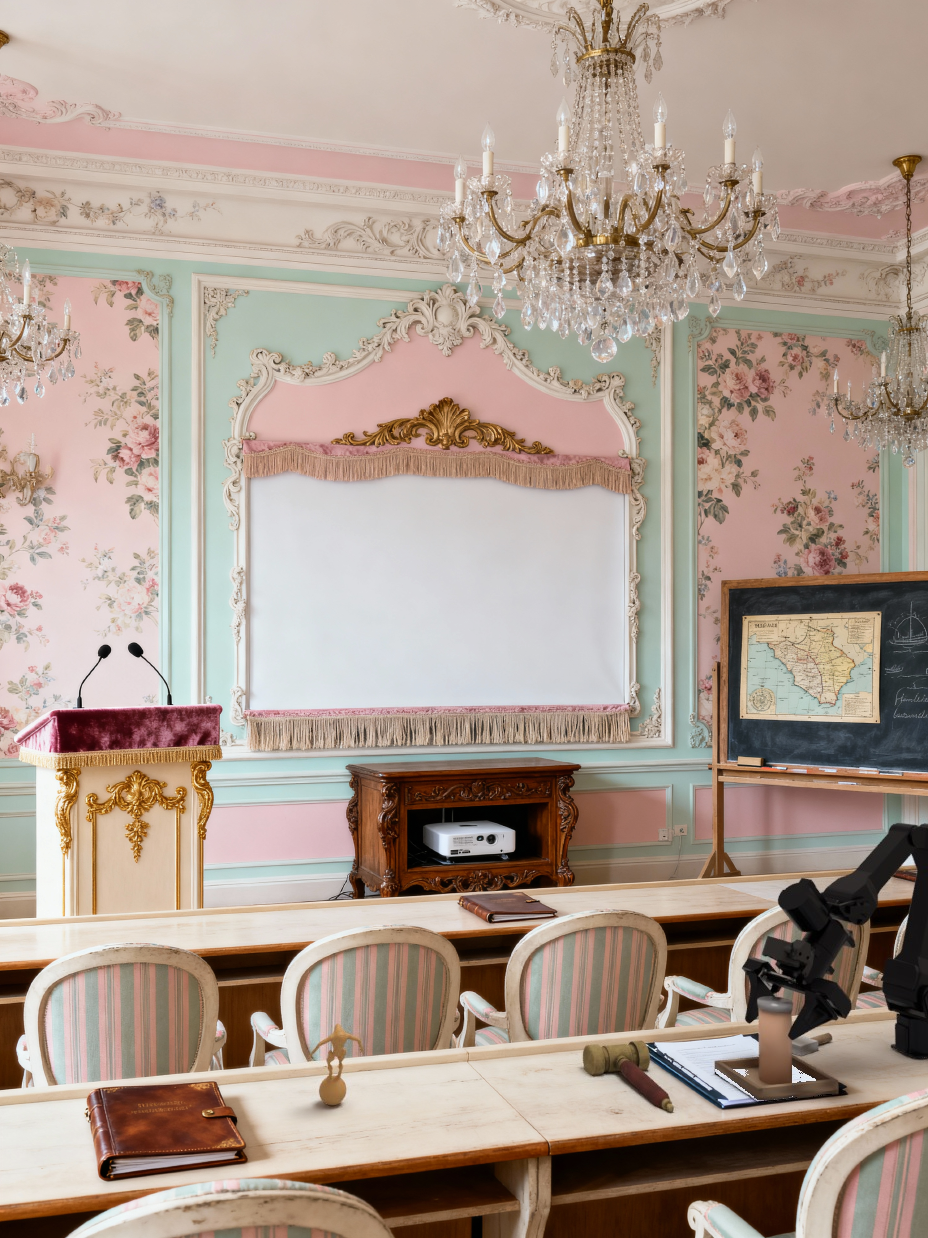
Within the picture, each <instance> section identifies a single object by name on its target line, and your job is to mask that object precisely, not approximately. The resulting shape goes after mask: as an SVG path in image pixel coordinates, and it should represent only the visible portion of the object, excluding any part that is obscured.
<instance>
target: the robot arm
mask: <svg viewBox="0 0 928 1238" xmlns="http://www.w3.org/2000/svg"><path fill="white" fill-rule="evenodd" d="M909 857H912V860H913V862H914V865H915V868H916V875H915V880H914V884H913V885H914V886H913V890H912V895H911V900H910V905H909V910H908V915H907V920H906V925H905V930H904V934H903V940H902V945H901V950H900V952H898V954H897V955H896V956H895V957H894V958H891V957H887V958H886V960H885V961H884V970H883V974H882V976H881V978H880V981H882V986H881V990H882V993H883V995H884V999H885V1003H886V1006H887V1010H888V1012H889V1011H890V1012H894V1013H896V1017H895V1018H896V1023H895V1024H894V1043H891V1044H890V1048H892V1049H893V1050H896V1051H898V1052H900V1053H901V1054H904V1055H906V1056H909V1057H911V1058H912V1059H916V1060H921V1059H928V823H927V822H926V823H921V824H920V825H918V824H913V823H912V824H911V823H904V822H895V823H893V824H892V825H890V827H889V829H888V833H887V834H886V835H885V836H884V837H883V839H882V840H881V841H879V843H878V844H877V845H876V846H875V848H874V849H873V850H872V851H871V852H870V853H869V854H868V855H867V856H866V858H865V859H864V860H863V861H862V862H861V863H860V864H859V865H858V867H857V868H856V869H855V870H854V871H852V872H851V873H849V874H847V875H844V876H840V877H838V878H836V880H834V881H833V882H831V884H829V885H828V886H827V887H826V888H825V889H824V890H823V891H822V892H820V890H819V889H818V887H817V886H816V884H815V882H814V881H813V879H809V878H805V877H801V878H800V880H799V881H798V882H795V883H792V884H790V885H788V886H787V887H785V888H784V889H782V890H781V891H780V892H779V895H778V897H777V904H778V906H779V908H781V910H782V911H783V913H784V914H786V916H787V917H788V919H789V920H790V921H791V923H792V924H793V925H794V926H795V928H796V929H797V930H798V931H800V932H802V933H805V934H804V936H803V937H802V938H801V939H795V940H794V941H792V942H790V941H787V940H785V939H781V938H778V937H773V936H769V935H767V936H766V939H765V942H764V946H763V948H762V952H761V956H763V957H766V958H767V957H768V958H770V959H771V960H774V961H776V962H775V963H774V965H775V966H776V968H777V969H779V970H780V971H782V972H781V973H780V972H778V971H777V970H775V968H774V967H773V966H772V964H771V963H770V962H769V961H766V960H763V959H760V958H757V957H748V958H747V959H746V960H745V962H744V963H743V965H742V967H741V969H742V971H744V973H745V977H746V978H747V979H748V981H749V984H750V987H749V988H750V990H749V997H748V1001H747V1006H746V1011H745V1014H744V1015H745V1016H744V1020H745V1022H746V1023H748V1024H749V1025H750V1024H751V1023H753V1022H754V1021H755V1020H756V1019H758V1018H759V1008H758V1007H757V999H758V998H760V997H764V996H775V997H776V994H777V993H779V992H780V991H781V989H782V988H783V989H786V990H789V991H792V992H795V993H798V994H802V995H804V1001H803V1002H804V1003H803V1006H802V1007H801V1009H800V1011H799V1013H798V1015H797V1017H796V1018H795V1020H794V1021H793V1022H792V1027H791V1029H790V1031H789V1033H788V1037H789V1038H790V1039H791V1040H794V1039H796V1038H798V1037H800V1036H804V1035H805V1034H806V1033H808V1032H811V1031H812V1030H815V1029H816V1028H818V1027H821V1026H822V1025H824V1024H827V1023H829V1022H831V1021H838V1019H839V1018H840V1019H844V1020H845V1019H847V1017H848V1016H849V1014H850V1013H851V1011H852V1006H853V1005H852V1000H851V999H850V997H849V996H848V995H847V994H846V992H845V991H844V990H843V988H842V987H841V986H840V984H838V982H836V981H832V980H829V979H826V978H824V977H826V975H829V976H833V974H834V972H835V968H833V966H832V964H833V963H834V962H835V960H836V958H837V957H838V955H839V953H840V952H841V951H842V949H843V947H848V948H852V949H855V947H856V940H855V939H854V936H853V935H854V934H853V933H854V931H853V930H851V929H847V928H845V926H844V924H842V923H847V924H851V925H855V926H864V925H865V924H867V923H868V921H869V920H870V919H871V917H872V915H873V914H874V912H875V910H876V909H877V907H878V905H879V893H880V892H881V890H882V889H883V888H884V886H886V885H887V883H888V882H889V881H890V880H891V878H893V876H894V875H895V874H896V873H897V871H899V869H900V868H901V867H902V865H904V863H905V862H906V861H907V860H908V859H909Z"/></svg>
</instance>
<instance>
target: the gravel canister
mask: <svg viewBox="0 0 928 1238" xmlns="http://www.w3.org/2000/svg"><path fill="white" fill-rule="evenodd" d="M757 1007H758V1008H759V1016H758V1057H759V1079H760V1080H761V1081H763V1082H765V1083H768V1084H772V1085H777V1084H787V1083H792V1055H793V1053H792V1040H791V1039H790V1038H789V1037H788V1033H789V1031H790V1029H791V1027H792V1025H793V1021H792V1020H793V1017H792V1016H793V1014H792V1013H793V1010H794V1002H793V1001H792V1000H790V999H788V998H786V997H781V996H776V995H775V996H764V997H760V998H758V999H757Z"/></svg>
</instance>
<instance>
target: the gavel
mask: <svg viewBox="0 0 928 1238" xmlns="http://www.w3.org/2000/svg"><path fill="white" fill-rule="evenodd" d="M582 1063H583V1068H584V1070H585V1072H586V1073H588V1074H589V1075H591V1076H598V1075H599V1076H600V1075H603V1074H604V1072H605V1073H613V1072H621V1074H622V1076H623V1077H624V1078H625V1079H626V1080H627V1081H628V1082H630V1083H631V1085H632V1086H634V1088H636V1089H637V1090H638V1091H639V1092H640V1093H641V1094H642V1095H643V1096H644V1097H645V1098H646V1099H648V1101H650V1103H651V1104H653V1105H654V1106H656V1107H658V1108H660V1109H662V1110H664V1111H668V1112H673V1111H674V1109H675V1106H674V1105H673V1102H672V1101H671V1099H670V1095H669V1093H668V1092H667V1091H665V1089H663V1088H662V1087H661V1086H660V1085H659V1084H658V1083H657V1082H655V1081H654V1079H652V1077H650V1076H649V1075H648V1074H647V1073H645V1072H644V1071H648V1069H649V1068H650V1063H651V1055H650V1051H649V1047H648V1045H647V1044H646V1042H645V1041H644V1040H633V1041H632V1040H631V1041H629V1043H628V1044H626V1043H621V1044H610V1045H602V1046H601V1045H600V1044H597V1043H596V1044H588V1045H587V1044H586V1045H585V1046H584V1048H583V1050H582Z"/></svg>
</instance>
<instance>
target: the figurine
mask: <svg viewBox="0 0 928 1238" xmlns="http://www.w3.org/2000/svg"><path fill="white" fill-rule="evenodd" d="M333 1029H334V1030H333V1033H331V1034H330V1035H329V1036H327V1037H326V1038H325V1039H323V1040H321V1041H319V1042H318V1043H317V1044H316V1046H315V1047H314V1048H313V1049H312V1051H311V1052H310V1054H309V1056H308V1059H307V1061H308V1062H309V1061H310V1060H311V1057H312V1056H313V1055H314V1054H315V1053H316V1052H317V1051H318V1050H319V1048H320V1047H322V1046H323V1045H326V1044H328V1043H330V1042H331V1044H332V1045H331V1046H332V1049H333V1050H330V1049H329V1050H328V1052H327V1053H328V1054H327V1057H326V1063H327V1070H328V1071H329V1074H328V1075H327V1076H326V1077H325V1078H324V1079H323V1080H322V1081H321V1083H320V1085H319V1089H318V1095H319V1097H320V1099H321V1101H322V1102H323V1103H324V1104H326V1105H328V1106H337V1105H339V1104H340V1103H342V1101H344V1099H345V1098H346V1095H347V1085H346V1084H347V1083H345V1080H343V1078H342V1073H343V1068H344V1065H343V1063H342V1062H343V1061H344V1060H345V1057H346V1055H347V1049H346V1048H344V1047H345V1045H346V1043H347V1040H350V1041H354V1042H357V1044H358V1047H359V1051H360V1053H361V1055H364V1054H365V1049H364V1047H363V1044H362V1040H361V1039H360V1037H357V1036H355V1035H352V1034H350V1033H348V1032H346V1031H345V1030H344V1029H343V1027H342V1026H341V1024H340V1023H336V1024H335V1026H334V1028H333ZM335 1058H337V1060H338V1066H337V1067H338V1072H337V1074H336V1075H333V1066H332V1064H331V1063H332V1062H333V1061H334V1060H335Z"/></svg>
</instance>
